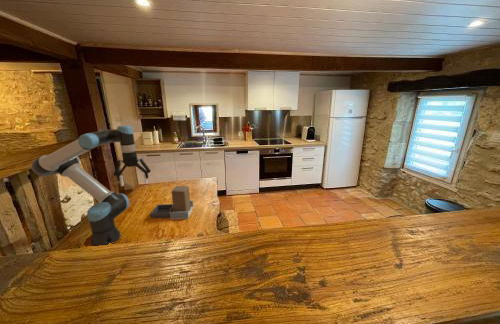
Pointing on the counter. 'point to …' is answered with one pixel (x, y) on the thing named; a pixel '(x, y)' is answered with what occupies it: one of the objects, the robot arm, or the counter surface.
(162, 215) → the box
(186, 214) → the walled bay
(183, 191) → the wooden block
